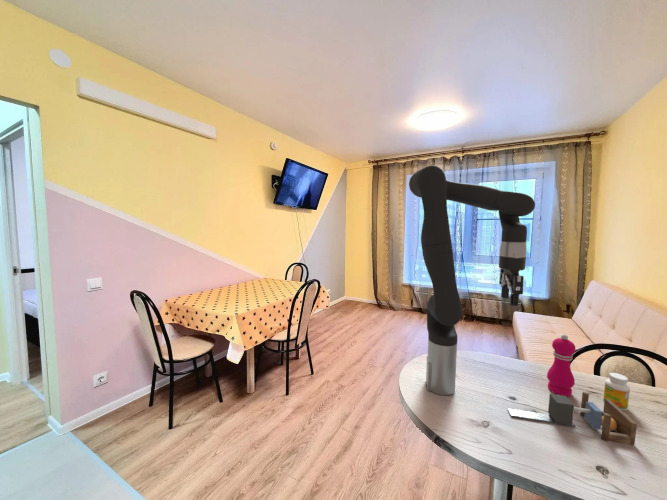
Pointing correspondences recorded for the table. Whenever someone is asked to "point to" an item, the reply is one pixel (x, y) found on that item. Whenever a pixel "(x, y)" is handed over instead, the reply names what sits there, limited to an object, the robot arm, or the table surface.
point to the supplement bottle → (617, 390)
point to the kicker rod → (564, 409)
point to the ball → (613, 424)
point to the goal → (624, 422)
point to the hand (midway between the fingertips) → (509, 301)
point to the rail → (535, 417)
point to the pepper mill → (561, 367)
